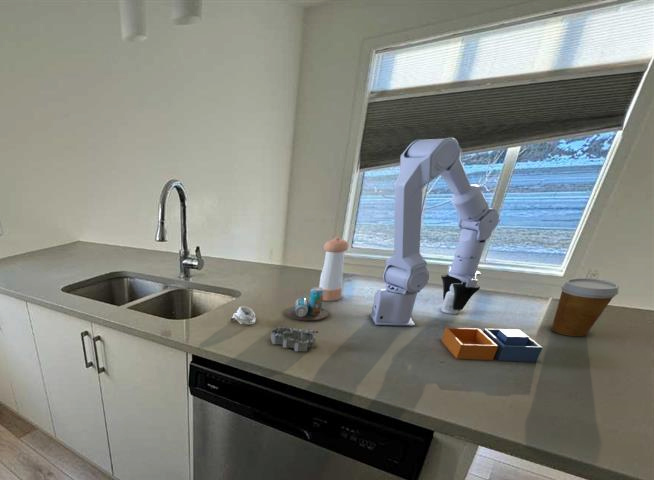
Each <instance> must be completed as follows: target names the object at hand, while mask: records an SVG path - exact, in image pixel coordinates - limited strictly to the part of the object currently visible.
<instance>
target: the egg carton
mask: <svg viewBox="0 0 654 480" xmlns="http://www.w3.org/2000/svg"><path fill="white" fill-rule="evenodd" d="M287 327H288V326H286V325H282V326H281V325H280V326H278V327H276V328H273V329H269V331H270V332H271V335H270V336H271V337H270V341H271V344H273V345H282V348H283V349H284V348H285V349H288V348H290V349H291V348H292V349H294V352H296V353H297V352H299V353H300V352H307V351H308V348H314V347H315V343H316V336H317V335H318V334H319V331H318V330H315V329H312V328H311V329H309V328H307V330H305V329H304V328H302V329H298V328H292V327H291V328H290V327H288V328H287Z"/></svg>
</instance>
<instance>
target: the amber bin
mask: <svg viewBox="0 0 654 480" xmlns="http://www.w3.org/2000/svg"><path fill="white" fill-rule="evenodd" d="M441 342H442V343H443V344H444V346H445V347H446V348H447V349H448V350H449V352H450V353H451V354H452V355H453V356H454V358H455V359H456V360H483V361H493V360H494V358H495V357H494V356H495V353H496V351H497V348H498V345H497V344H495V343H494V342H493V341H492V340H491V339H490V338H489V337H488V336H487V335H486V334H485V333H483V330H482V329H481V328H475V327H473V328H471V327H445V329H444V330H443V335H442V338H441Z"/></svg>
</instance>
